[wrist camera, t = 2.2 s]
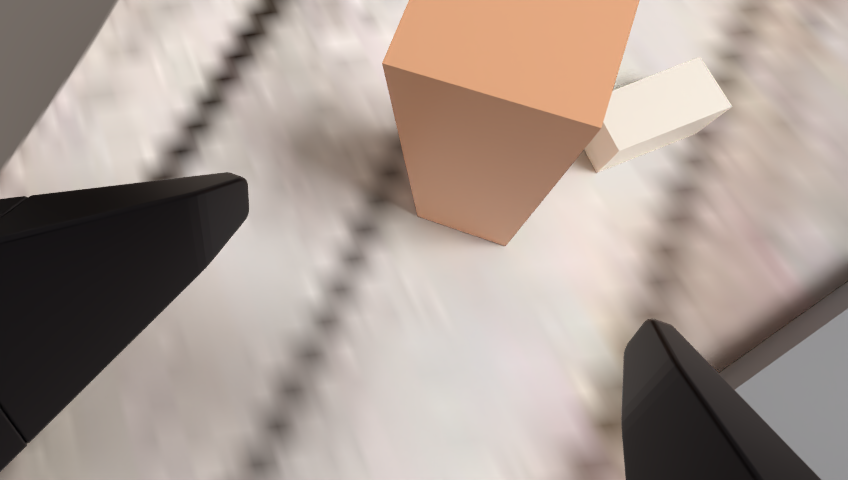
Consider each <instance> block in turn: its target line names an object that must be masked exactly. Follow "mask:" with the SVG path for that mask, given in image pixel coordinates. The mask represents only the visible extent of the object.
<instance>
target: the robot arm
mask: <svg viewBox="0 0 848 480" xmlns="http://www.w3.org/2000/svg"><path fill="white" fill-rule="evenodd" d="M248 213H249V198H248V183H247V181H246V179H245V178H243V177H241V176H238V175H235V174H232V173H228V172H226V173H217V174H209V175H200V176H192V177H183V178H175V179H167V180H158V181H150V182H141V183H133V184H124V185H116V186H108V187H99V188H91V189H82V190H74V191H66V192H57V193H49V194H40V195H32V196H30V197H26V196H23V197H14V198H6V199H0V472H1V471H2V470H3V469H4V468H5V467H6V466H7V465H8V464H9V463H10V462H11V461H12V460H13V459H14V458H15V457H16V456H17V455H18V454H19V453H20V452H21V451H22V450H23V449H24V448H25V447H26V446H27V443H29V442H30V441H31V440H33V439H34V438H35V437H36V436H37V435H38V434H39V433H40V432H41V431H42V430H43V429H44V428H45V427H46V426H47V425H48V424H49V423H50V422H51V421H52V420H53V419H54V418H55V417H56V416H57V415H58V414H59V413H60V412H61V411H62V410H63V409H64V408H65V407H66V406H67V405H68V404H69V403H70V402H71V401H72V400H73V399H74V398H75V397H76V396H77V395H78V394H79V393H80V392H81V391H82V390H83V389H84V388H85V387H86V386H87V385H88V384H89V383H90V382H91V381H92V380H93V379H94V378H95V377H96V376H97V375H98V374H99V373H100V372H101V371H102V370H103V369H104V368H105V367H106V366H107V365H108V364H109V363H110V362H111V361H112V360H113V359H114V358H115V357H116V356H117V355H118V354H119V353H120V352H121V351H122V350H124V349H125V348H126V347H127V346H128V345H129V344H130V343H131V342H132V341H133V340H134V339H135V338H136V337H137V336H138V335H139V334H140V333H141V332H142V331H143V330H144V329H145V328H146V327H147V326H148V325H149V324H150V323H151V322H152V321H153V320H154V319H155V318H156V317H157V316H158V315H159V314H160V313H161V312H162V311H163V310H164V309H165V308H166V307H167V306H168V305H169V304H170V303H171V302H172V301H173V300H174V299H175V298H176V297H177V296H178V295H179V294H180V293H181V292H182V291H183V290H184V289H185V288H186V287H187V286H188V285H189V284H190V283H191V282H192V281H193V280H194V279H195V278H196V277H197V276H198V275H199V274H200V273H201V272H202V271H203V270H204V269H205V268H206V267H207V266H208V265H209V264H210V262H211V261H212V260H213V259H214V258H215V257H216V255H217V254H218V253H219V252H220V250H221V249H222V248H223V247H224V245H225V244H226V243H227V242H228V241H229V239H230V238H231V237H232V236H233V234H234V233H235V232H236V231H237V230H238V228H239V227H240V226H241V225H242V223H243V222H244V221H245V219H246V218H247V216H248ZM622 439H623V451H624V463H625V476H626V480H821V479H820V478H819V476H818V475H817V474H816V473H815V472H814V471H813V470H812V469H811V468H810V467H809V466H808V465H807V464H806V463H805V462H804V461H803V460H802V459H801V458H800V457H799V456H798V455H797V454H796V453H795V452H794V451H793V450H792V449H791V448H790V447H789V446H788V445H787V443H786V442H785V441H784V440H783V439H782V438H781V437H780V436H779V435H778V434H777V433H776V432H775V431H774V430H773V429H772V428H771V427H770V426H769V425H768V424H767V423H766V422H765V421H764V420H763V419H762V418H761V417H760V416H759V415H758V414H757V413H756V411H755V410H754V409H753V408H752V407H751V406H750V405H749V404H748V403H747V402H746V401H745V400H744V399H743V398H742V397H741V396H740V395H739V394H738V393H737V392H736V391H735V390H734V389H733V388H732V387H731V386H730V385H729V384H728V383H727V382H726V381H725V379H724V378H723V377H722V376H721V375H720V374H719V373H718V372H717V371H716V370H715V369H714V368H713V367H712V366H711V365H710V364H709V363H708V362H707V361H706V360H705V359H704V358H703V357H702V356H701V355H700V354H699V353H698V352H697V351H696V350H695V349H694V347H693V346H692V345H691V344H690V343H689V342H688V341H687V340H686V339H685V338H684V337H683V336H682V335H681V334H680V333H679V332H678V331H677V330H676V329H675V328H674V327H673V326H672V325H670V324H667V323H664V322H662V321H659V320H656V319H648V320H646V321H645V322H644V323H643V324H642V326H641V327H640V328H639V330H638V331H637V332H636V334H635V335H634V336H633V337H632V339H631V340H630V341H629V343H628V344H627V346H626V348H625V352H624V365H623V389H622Z"/></svg>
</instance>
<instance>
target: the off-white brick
mask: <svg viewBox="0 0 848 480" xmlns="http://www.w3.org/2000/svg"><path fill="white" fill-rule="evenodd" d="M731 107H732V106H731V104H730V103H729V101H728V99H727V98H726V96H725V95H724V93H723V92H722V90H721V88H720V87H719V85H718V84H717V82H716V81H715V79H714V77H713V76H712V74H711V73H710V71H709V70H708V68H707V66H706V65H705V63H704V62H703V60H702V59H701V57H698V58H695V59H693V60H690V61H687V62H685V63H682V64H680V65H677V66H675V67H672V68H669V69H667V70H664V71H662V72H659V73H657V74H654V75H651V76H649V77H646V78H644V79H641V80H639V81H636V82H633V83H631V84H628V85H626V86H623V87H621V88H618V89H615V90H613V91H612V94H611V97H610V101H609V104H608V108H607V111H606V114H605V118H604V121H603V124H602V128H601V129H600V130H599V132H598V133H597V134H596V135H595V137H594V138H593V139H592V140H591V141H590V143H589V144H588V145H587V146H586V148H585V149H584V150H585V152H586V154H587V156H588V157H589V159H590V161H591V163H592V165H593V167H594V169H595V171H596V173H598V172H601V171H603V170H606V169H608V168H611V167H614V166H616V165H619V164H621V163H624V162H626V161H629V160H631V159H634V158H636V157H639V156H641V155H644V154H646V153H649V152H651V151H654V150H656V149H659V148H661V147H664V146H666V145H669V144H671V143H674V142H676V141H679V140H682V139H684V138H687V137H689V136H692V135H694V134H696V133H697V132H699V131H700V130H701V129H703V128H704V127H705V126H707V125H708V124H709V123H711V122H712V121H713V120H715V119H716V118H717V117H719V116H720V115H721V114H723V113H724V112H725V111H727V110H728V109H729V108H731Z"/></svg>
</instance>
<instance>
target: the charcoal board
mask: <svg viewBox="0 0 848 480" xmlns="http://www.w3.org/2000/svg"><path fill="white" fill-rule="evenodd" d="M719 374H720V375H721V376H722V377H723V378H724V379H725V381H726V382H727V383H728V384H729V385H730V386H731V387H732V388H733V389H734V390H735V391H736V392H737V393H738V394H739V395H740V396H741V397H742V398H743V399H744V400H745V401H746V402H747V403H748V404H749V405H750V406H751V407H752V408H753V409H754V410H755V411H756V413H757V414H758V415H759V416H760V417H761V418H762V419H763V420H764V421H765V422H766V423H767V424H768V425H769V426H770V427H771V428H772V429H773V430H774V431H775V432H776V433H777V434H778V435H779V436H780V437H781V438H782V439H783V440H784V441H785V442H786V443H787V445H788V446H789V447H790V448H791V449H792V450H793V451H794V452H795V453H796V454H797V455H798V456H799V457H800V458H801V459H802V460H803V461H804V462H805V463H806V464H807V465H808V466H809V467H810V468H811V469H812V470H813V471H814V472H815V473H816V474H817V475H818V476H819V478H820V479H821V480H848V282H846V283H845V284H843V285H842V286H841V287H839V288H838V289H836V290H835V291H833V292H832V293H831V294H829V295H828V296H826V297H825V298H824V299H822V300H821V301H819V302H818V303H817V304H815V305H814V306H812V307H811V308H810V309H808V310H807V311H805V312H804V313H803V314H801V315H800V316H798V317H797V318H796V319H794V320H793V321H791V322H790V323H789V324H787V325H786V326H784V327H783V328H781V329H780V330H779V331H777V332H776V333H774V334H773V335H772V336H770V337H769V338H767V339H766V340H765V341H763V342H762V343H760V344H759V345H758V346H756V347H755V348H753V349H752V350H751V351H749V352H748V353H746V354H745V355H744V356H742V357H741V358H739V359H738V360H737V361H735V362H734V363H732V364H731V365H729V366H728V367H727V368H725V369H724V370H722V371H721V372H720V373H719Z"/></svg>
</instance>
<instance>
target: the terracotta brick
mask: <svg viewBox="0 0 848 480" xmlns="http://www.w3.org/2000/svg"><path fill="white" fill-rule="evenodd" d="M638 4H639V0H409V2H408V4H407V6H406V9H405V11H404V13H403V16H402V18H401V20H400V23H399V25H398V27H397V30H396V32H395V34H394V37H393V39H392V41H391V44H390V46H389V49H388V51H387V53H386V56H385V58H384V60H383V63H382V64H383V69H384V73H385V77H386V82H387V86H388V90H389V95H390V99H391V103H392V108H393V112H394V116H395V121H396V125H397V129H398V134H399V138H400V142H401V147H402V151H403V155H404V160H405V164H406V168H407V173H408V177H409V181H410V186H411V190H412V194H413V199H414V203H415V207H416V212H417V216H418V217H421V218H424V219H427V220H430V221H433V222H436V223H439V224H442V225H445V226H448V227H450V228H453V229H456V230H459V231H462V232H465V233H468V234H471V235H474V236H477V237H480V238H483V239H486V240H489V241H492V242H495V243H498V244H501V245H503V246H506V245H507V244H508V243H509V241H510V240H511V239H512V238H513V236H514V235H515V234H516V233H517V231H518V230H519V229H520V228H521V227H522V225H523V224H524V223H525V222H526V220H527V219H528V218H529V217H530V215H531V214H532V213H533V212H534V211H535V209H536V208H537V207H538V206H539V204H540V203H541V202H542V201H543V199H544V198H545V197H546V196H547V194H548V193H549V192H550V191H551V190H552V188H553V187H554V186H555V185H556V183H557V182H558V181H559V180H560V178H561V177H562V176H563V175H564V174H565V172H566V171H567V170H568V169H569V167H570V166H571V165H572V164H573V162H574V161H575V160H576V159H577V158H578V156H579V155H580V154H581V153H582V151H583V150H584V149H585V148H586V146H587V145H588V144H589V143H590V141H591V140H592V139H593V138H594V137H595V135H596V134H597V133H598V132H599V130H600V129H601V128H602V124H603V121H604V118H605V114H606V111H607V108H608V104H609V101H610V97H611V94H612V91H613V87H614V84H615V81H616V77H617V74H618V71H619V67H620V64H621V61H622V57H623V54H624V51H625V47H626V44H627V40H628V37H629V34H630V30H631V27H632V24H633V20H634V17H635V14H636V10H637V7H638Z"/></svg>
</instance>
